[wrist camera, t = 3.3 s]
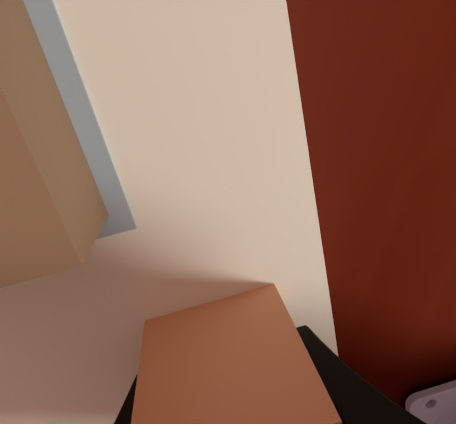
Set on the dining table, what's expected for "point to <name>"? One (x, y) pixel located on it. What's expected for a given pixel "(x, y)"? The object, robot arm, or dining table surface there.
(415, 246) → the dining table surface
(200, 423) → the terracotta block
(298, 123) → the board
